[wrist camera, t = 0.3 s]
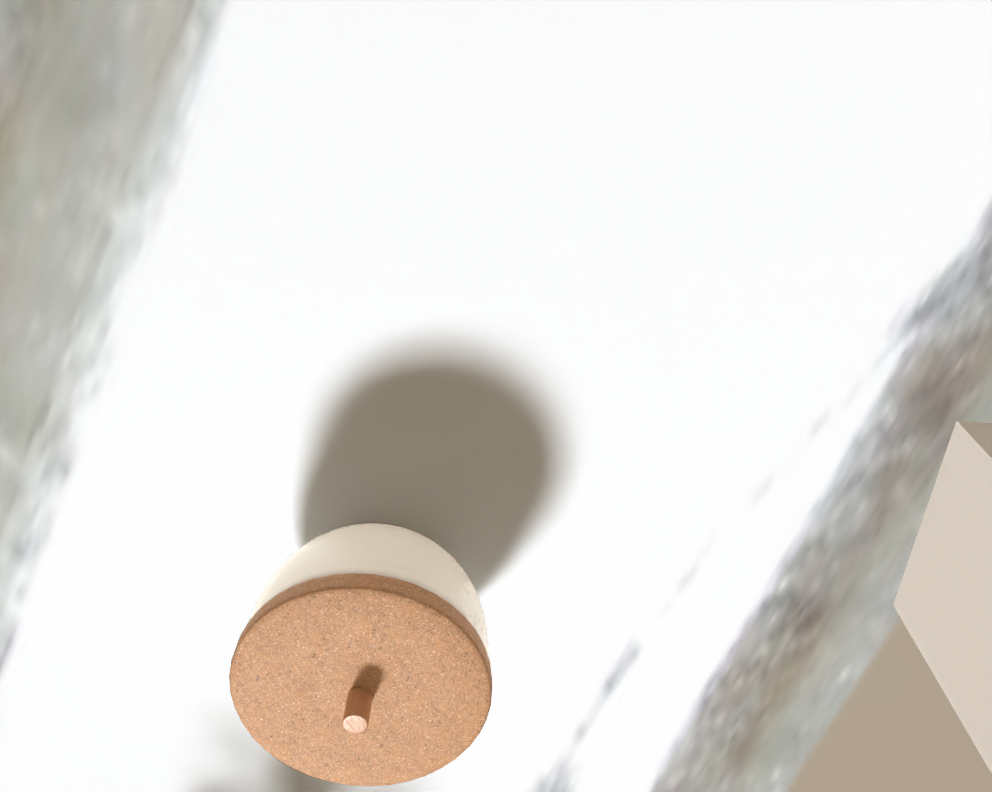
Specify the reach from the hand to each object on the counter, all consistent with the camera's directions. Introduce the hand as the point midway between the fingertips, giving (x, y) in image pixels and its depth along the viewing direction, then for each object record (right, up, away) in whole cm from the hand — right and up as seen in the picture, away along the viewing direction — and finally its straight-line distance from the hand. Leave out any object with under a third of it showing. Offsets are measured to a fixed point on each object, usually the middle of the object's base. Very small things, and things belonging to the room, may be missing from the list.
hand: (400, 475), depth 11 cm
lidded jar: (-4, -8, +34) cm, 36 cm away
